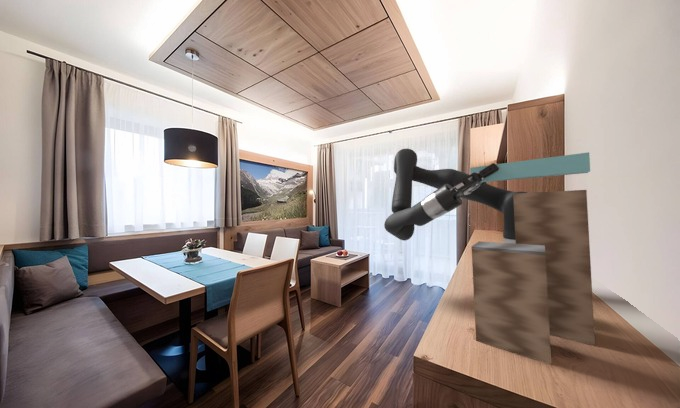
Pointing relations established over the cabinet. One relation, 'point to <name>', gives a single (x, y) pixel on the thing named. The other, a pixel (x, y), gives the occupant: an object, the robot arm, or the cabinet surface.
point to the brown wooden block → (512, 298)
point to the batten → (539, 167)
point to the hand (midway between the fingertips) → (497, 167)
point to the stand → (561, 257)
